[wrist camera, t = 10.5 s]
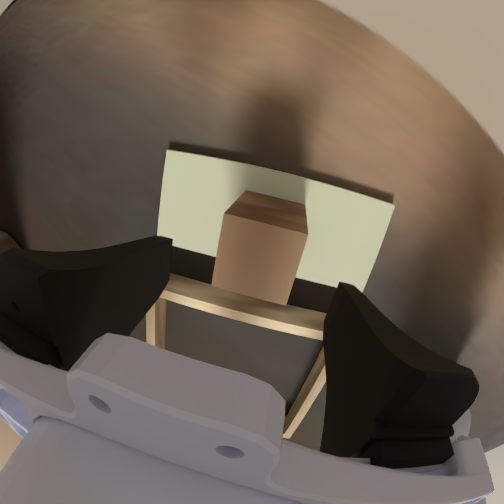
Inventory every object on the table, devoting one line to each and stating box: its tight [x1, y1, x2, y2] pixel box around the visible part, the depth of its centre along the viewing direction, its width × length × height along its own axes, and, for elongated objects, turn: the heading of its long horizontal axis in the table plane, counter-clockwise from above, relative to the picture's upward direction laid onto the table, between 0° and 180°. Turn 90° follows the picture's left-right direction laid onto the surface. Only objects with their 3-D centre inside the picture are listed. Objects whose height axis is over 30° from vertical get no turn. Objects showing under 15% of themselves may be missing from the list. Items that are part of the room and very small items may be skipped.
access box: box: [146, 273, 327, 438], centre depth 24 cm, size 16×16×2 cm
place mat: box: [157, 150, 395, 292], centre depth 20 cm, size 16×7×1 cm, turn 79°
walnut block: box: [211, 190, 308, 306], centre depth 17 cm, size 4×4×6 cm
